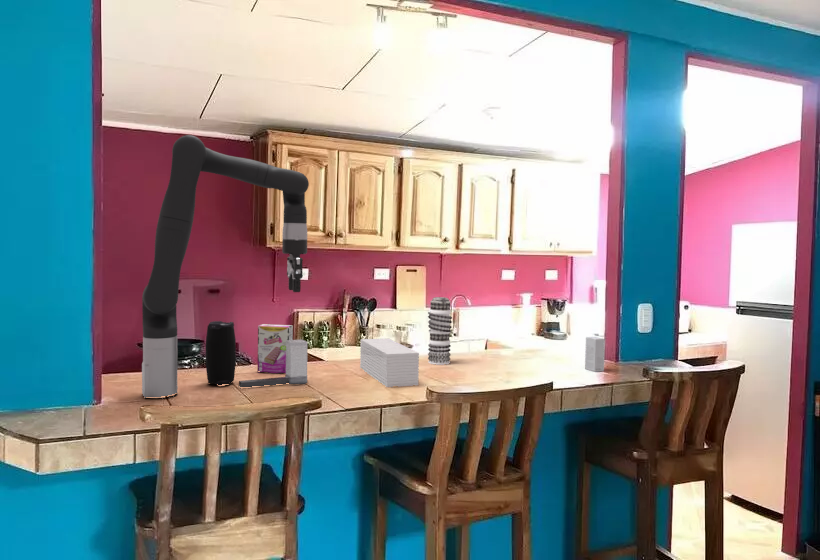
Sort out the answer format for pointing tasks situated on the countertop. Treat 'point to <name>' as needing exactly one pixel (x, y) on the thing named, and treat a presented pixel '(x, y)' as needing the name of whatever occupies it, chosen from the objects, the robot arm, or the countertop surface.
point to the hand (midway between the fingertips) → (294, 291)
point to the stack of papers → (389, 362)
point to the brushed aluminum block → (296, 358)
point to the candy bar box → (273, 347)
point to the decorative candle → (439, 331)
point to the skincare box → (594, 354)
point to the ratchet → (273, 381)
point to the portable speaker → (220, 352)
